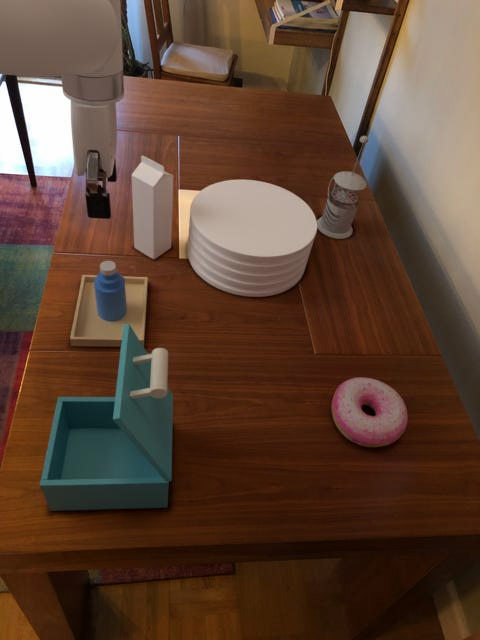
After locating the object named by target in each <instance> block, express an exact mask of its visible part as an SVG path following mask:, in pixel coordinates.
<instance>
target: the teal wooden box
mask: <svg viewBox="0 0 480 640" xmlns="http://www.w3.org/2000/svg"><path fill="white" fill-rule="evenodd" d="M114 405H115V396H57V401H56V405H55V409H54V415H53V419H52V425H51V430H50V434H49V438H48V443H47V449H46V452H45V458H44V463H43V468H42V473H41V477H40V478H41V479H40V483H39V487H40V489H41V492H42V494H43V496H44V499H45V501H46V503H47V506H48V508H49V510H50V512H57V511H58V512H59V511H89V510H90V511H91V510H92V511H93V510H123V509H124V510H129V509H157V508H158V509H159V508H160V509H161V508H168V504H169V488H170V487H169V486H170V485H169V484H170V481H168V482H166V481H165V480H164V479H163V478H162V476H161V475H160V474H159V473H158V472H157V471H156V469H155V468H154V467H153V466H152V465H151V464H150V462H149V461H148V460H147V459H146V458H145V457H144V455H143V454H142V453H141V452H140V451H139V450H138V448H137V447H136V446H135V445H134V444H133V442H132V441H131V440H130V439H129V438H128V437H127V435H126V434H125V433H124V432H123V431H122V430H121V428H120V427H119V426H118V425H117V424H116V423H115V421H114V420H113V413H114Z"/></svg>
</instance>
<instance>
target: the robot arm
mask: <svg viewBox="0 0 480 640" xmlns="http://www.w3.org/2000/svg"><path fill="white" fill-rule="evenodd" d="M121 9H122V8H121V0H0V75H7V76H19V77H33V78H60V79H61V86H62V88H61V89H62V94H63V95H64V97H65V98H66V99H68V100H69V101H70V126H71V140H72V141H71V142H72V152H73V153H72V154H73V163H74V173H75V174H76V176H78V177H81V176H85V193H84V195H85V204H86V205H85V206H86V213H87V217H88V218H90V219H99V220H100V219H103V220H110V219H111V218H112V209H111V207H112V206H111V195H110V193H109V192H108V183H117V178H118V175H117V161H116V155H117V147H118V146H117V144H118V124H117V123H118V121H117V120H118V119H117V104H116V103H119V102H120V101H122V100H123V99H124V97H125V83H124V82H125V81H124V57H123V33H122V12H121ZM99 182H102V184H99Z"/></svg>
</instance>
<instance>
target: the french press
mask: <svg viewBox="0 0 480 640" xmlns="http://www.w3.org/2000/svg"><path fill="white" fill-rule="evenodd" d="M359 142H360V143H361V147H360V150H359V153H358V155H357V158H356V161H355V164H354V167H353V170H352V171H344V170H343V171H339V172H337V173H335V174H334V175H333V177H332V178H331V179H330V181H329V183H328V187H327V201H326V203H325V207H324V209H323V213H322V216H321V217H319V218H317V219H316V221H317V230H318V231H319V232H320V233H321V234H323V235H325V236H326V237H329V238H332V239H338V240H339V239H340V240H344V239H346V238H350V236H352V235H353V230H354V229H353V227H352V224H353V221H354V219H355V215H356V213H357V211H358V208H359V204H360V202H359V201H360V196H359V194H358V193H357V192H361V191H363V190H365V189H366V188H367V184H368V183H367V182H366V180H365V178H364V177H362V176H361V175H360V174H358V173H356V172H355V170H356V167H357V165H358V164H357V163H358V161H359V158H360V155H361V152H362V149H363V146H364V144H367V143H369V137H368V136H367V135H362V136H360V137H359ZM333 180H334V185H333V189H331V190H330V186H331V184H332V181H333ZM336 185H337V186H338V187H336ZM330 191H331V192H330ZM333 201H334V203H333ZM350 205H351V206H350ZM330 211H331V212H330Z"/></svg>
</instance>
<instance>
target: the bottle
mask: <svg viewBox="0 0 480 640" xmlns="http://www.w3.org/2000/svg"><path fill="white" fill-rule="evenodd" d="M97 275H98V276H97V277H96V278H95V280H94V288H95V296H96V304H97V311H98V315H99V317H100V318H102V319H103V320H105V321H118V320H120V319H122V318H123V317H124V316H125V315H126V312H127V306H126V291H125V279H124V278H123V275H122V274H120V271H118V270H117V265H116V263H115V262H114V261H113V260H104V261H101V263H100V264H99V272H98V274H97Z"/></svg>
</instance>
